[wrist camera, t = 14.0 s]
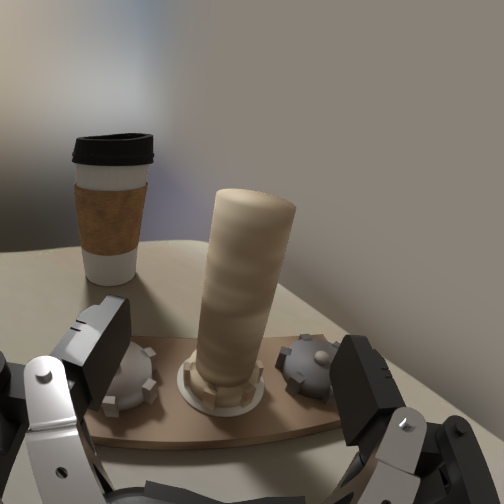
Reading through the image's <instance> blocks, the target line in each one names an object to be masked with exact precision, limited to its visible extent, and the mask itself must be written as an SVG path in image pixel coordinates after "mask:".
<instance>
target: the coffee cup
mask: <svg viewBox="0 0 504 504" xmlns="http://www.w3.org/2000/svg"><path fill="white" fill-rule="evenodd" d="M72 155H73V159H72V162H74V163H76V182H75V183H74V188H75V189H74V190H75V202H76V211H77V221H78V228H79V237H80V243H81V248H82V255H83V262H84V268H85V274H86V277H87V278H88V280H89V281H91V282H92V283H95V284H97V285H101V286H117V285H121V284H124V283H127V282H129V281H130V280H131V279H132V278H133V277H134V275H135V271H136V259H137V248H138V242H139V235H140V228H141V221H142V214H143V208H144V202H145V196H146V190H147V185H148V183H147V182H146V180H147V174H148V168H149V164H151V163H153V157H154V153H153V135H151V134H142V133H125V134H113V135H103V136H89V137H79V138H77V139H76V143H75V148H74V152H73V153H72Z"/></svg>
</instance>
